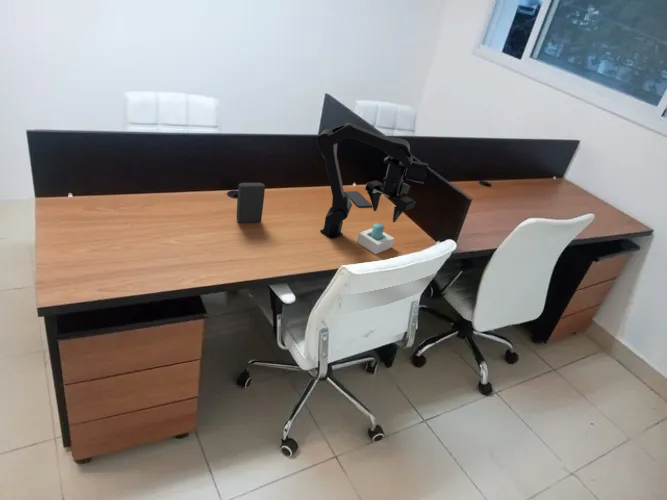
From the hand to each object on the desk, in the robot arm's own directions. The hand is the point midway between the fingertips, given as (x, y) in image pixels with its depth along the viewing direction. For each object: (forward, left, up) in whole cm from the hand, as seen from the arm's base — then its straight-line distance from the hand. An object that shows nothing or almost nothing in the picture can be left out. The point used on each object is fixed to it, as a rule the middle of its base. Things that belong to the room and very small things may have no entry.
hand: (384, 216), depth 173 cm
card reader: (-32, +37, -12) cm, 50 cm away
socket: (-1, +1, -12) cm, 12 cm away
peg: (-1, +1, -12) cm, 12 cm away
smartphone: (+22, +31, -13) cm, 40 cm away
